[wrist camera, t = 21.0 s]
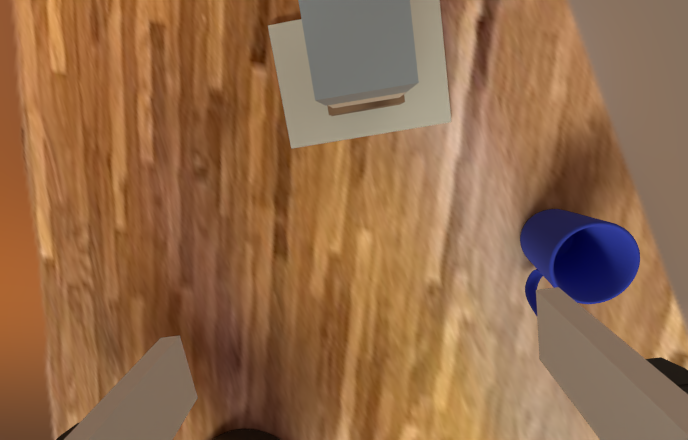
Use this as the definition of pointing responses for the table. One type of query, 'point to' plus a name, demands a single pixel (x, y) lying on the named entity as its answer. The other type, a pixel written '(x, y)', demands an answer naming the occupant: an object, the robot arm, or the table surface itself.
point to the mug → (578, 256)
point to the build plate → (319, 127)
